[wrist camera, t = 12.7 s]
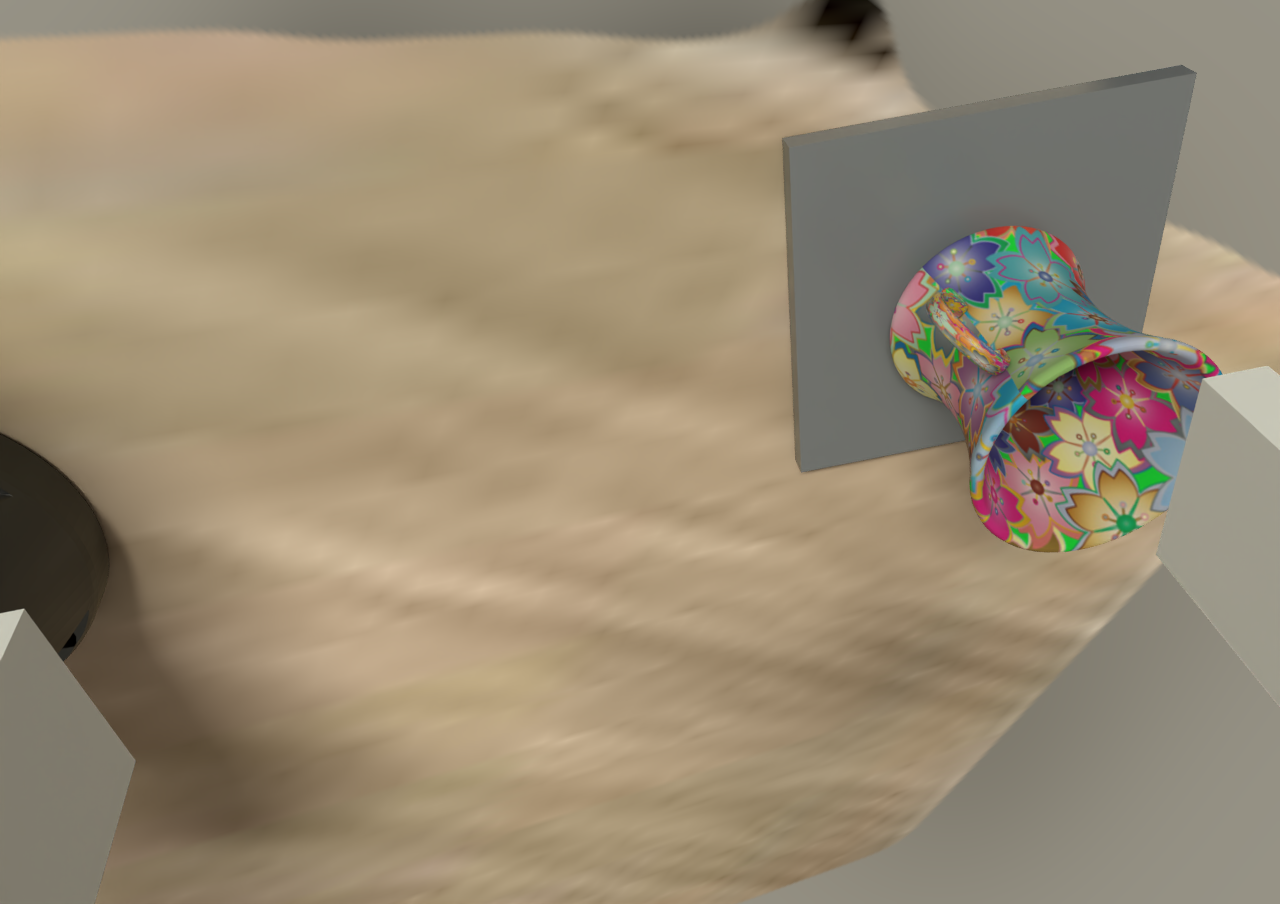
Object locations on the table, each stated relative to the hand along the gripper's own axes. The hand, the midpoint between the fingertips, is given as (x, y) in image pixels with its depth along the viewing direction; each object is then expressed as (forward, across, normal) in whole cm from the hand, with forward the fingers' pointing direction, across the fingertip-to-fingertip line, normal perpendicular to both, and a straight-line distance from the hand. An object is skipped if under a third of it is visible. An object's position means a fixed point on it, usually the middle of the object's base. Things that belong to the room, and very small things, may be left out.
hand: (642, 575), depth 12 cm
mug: (+28, +16, -15) cm, 35 cm away
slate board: (+29, +17, -15) cm, 37 cm away
